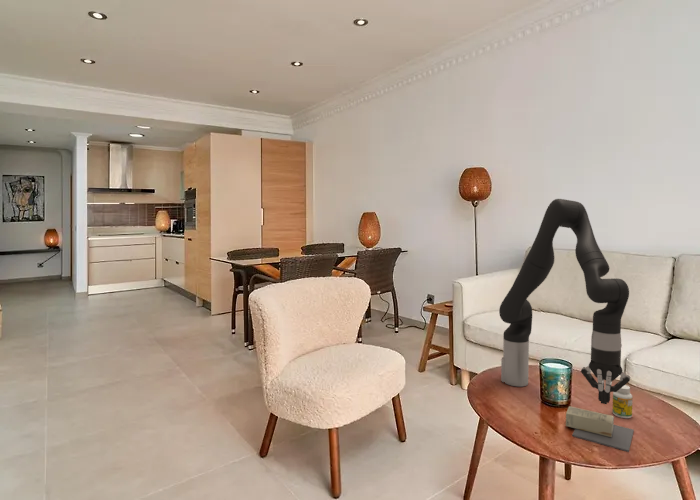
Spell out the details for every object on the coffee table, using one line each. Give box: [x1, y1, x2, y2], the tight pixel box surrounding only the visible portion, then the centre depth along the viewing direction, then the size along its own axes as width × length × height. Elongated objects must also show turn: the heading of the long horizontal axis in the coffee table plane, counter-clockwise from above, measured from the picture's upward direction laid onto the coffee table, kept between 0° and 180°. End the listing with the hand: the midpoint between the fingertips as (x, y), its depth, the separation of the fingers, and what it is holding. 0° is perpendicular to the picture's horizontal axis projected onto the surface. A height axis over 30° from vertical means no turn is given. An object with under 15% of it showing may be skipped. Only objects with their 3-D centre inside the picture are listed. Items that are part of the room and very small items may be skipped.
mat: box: [571, 424, 635, 453], centre depth 125 cm, size 14×14×1 cm
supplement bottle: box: [612, 384, 633, 419], centre depth 136 cm, size 5×5×10 cm
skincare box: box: [565, 405, 615, 437], centre depth 127 cm, size 6×4×12 cm
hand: (604, 402), depth 124 cm, fingers closed
